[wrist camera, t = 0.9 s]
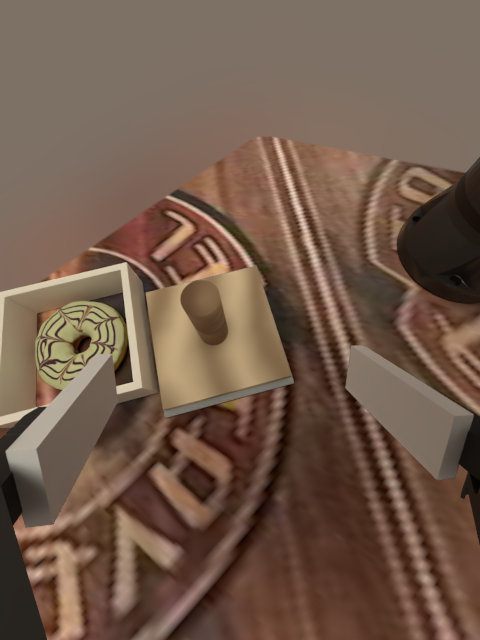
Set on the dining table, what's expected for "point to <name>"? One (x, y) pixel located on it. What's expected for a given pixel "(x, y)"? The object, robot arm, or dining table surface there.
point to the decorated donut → (78, 340)
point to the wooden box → (25, 302)
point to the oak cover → (214, 338)
